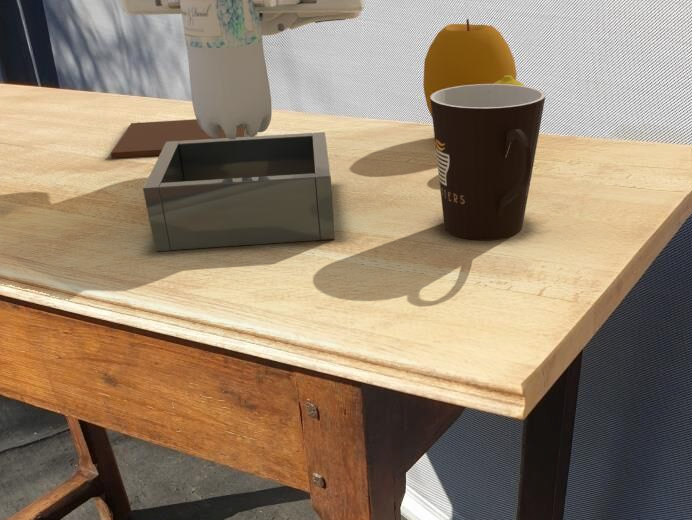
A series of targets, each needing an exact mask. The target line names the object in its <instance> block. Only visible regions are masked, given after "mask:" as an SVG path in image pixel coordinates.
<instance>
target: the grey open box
mask: <svg viewBox="0 0 692 520" xmlns="http://www.w3.org/2000/svg"><path fill="white" fill-rule="evenodd" d="M329 160H330V159H329V151H328V144H327V135H326V132H325V131H321V132H320V131H318V132H303V133H287V134H286V133H285V134H271V135H269V134H268V135H256V136H253V137H249V136H243V137H236V139H228V138H219V139H203V140H186V141H169V142H166V144H165V146H164V148H163V150H162V152H161V154H160V155H158V158H157V160H156V161H155V163H154V164H153V167H152V169H151V171H150V173H149V175H148V177H147V179H146V182H145V183H144V185H143V187H142V191H143V196H144V201H145V206H146V211H147V216H148V221H149V226H150V232H151V237H152V241H153V245H154V251H155V252H165V251H166V252H167V251H179V250H193V249H208V248H221V247H222V248H223V247H237V246H251V245H267V244H280V243H281V244H282V243H296V242H311V241H312V242H313V241H320V240H321V241H324V240H325V241H326V240H335V239H336V228H335V217H334V216H335V214H334V203H333V201H334V200H333V188H332V176H331V175H332V174H331V168H330V161H329Z"/></svg>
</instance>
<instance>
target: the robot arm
mask: <svg viewBox="0 0 692 520" xmlns="http://www.w3.org/2000/svg"><path fill="white" fill-rule="evenodd" d="M119 1H120V5H121V8H122V10H123V11H124V12H125V13H127V14H129V15H134V16H135V15H136V16H137V15H138V16H141V15H142V16H143V15H145V16H146V15H147V16H149V15H150V16H152V15H182V14H181V8H180V1H179V0H119ZM365 1H366V0H252V4H253V6H254V7H259V12H260V22H261V31H262V36H273V35H278V34H281V33H282V32H284V31H287V30H288V29H290V30H295V29H297V28H300V27H302V26H306V25H309V24H319V23H323V22H335V21H336V22H337V21H345V20H354V19H356V18H358V17H359V16H361V13H362V11H364V10H365V7H366V3H365Z"/></svg>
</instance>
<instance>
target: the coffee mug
mask: <svg viewBox="0 0 692 520" xmlns="http://www.w3.org/2000/svg"><path fill="white" fill-rule="evenodd" d="M430 100H431V109H432V116H431V119H432V126H433V136H434V144H435V153H436V161H437V162H436V163H437V172H438V180H439V189H440V199H441V209H442V217H443V226H444V230H445V231H446V232H447V233H448V234H449V235H451V236H453V237H455V238H456V237H457V238H459V239H465V240H472V241H494V240H501V239H506V238H510V237H512V236H515V235H517V234H519V233H520V232H522V230H523V226H524V220H525V215H526V209H527V204H528V197H529V193H530V185H531V180H532V176H533V175H532V174H533V169H534V163H535V158H536V152H537V146H538V141H539V136H540V130H541V124H542V118H543V113H544V106H545V101H546V93H545V92H544V91H543V90H541V89H539V88H535V87H532V86H526V85H524V86H520V85H510V84H476V85H465V86H457V87H451V88H446V89H442V90H439V91H437V92H435V93H433V94H432V95H431V96H430Z"/></svg>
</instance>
